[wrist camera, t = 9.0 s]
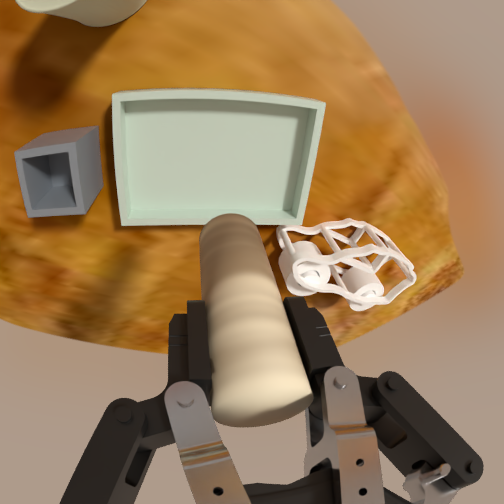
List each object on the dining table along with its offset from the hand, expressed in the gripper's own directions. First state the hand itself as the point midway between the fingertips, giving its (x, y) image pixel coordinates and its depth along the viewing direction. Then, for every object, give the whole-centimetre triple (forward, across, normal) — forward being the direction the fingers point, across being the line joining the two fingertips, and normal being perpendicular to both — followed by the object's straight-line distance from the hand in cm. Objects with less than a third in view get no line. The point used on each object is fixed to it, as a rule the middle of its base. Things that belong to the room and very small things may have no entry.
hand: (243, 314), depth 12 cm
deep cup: (+22, +16, 0) cm, 27 cm away
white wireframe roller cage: (+22, -18, +12) cm, 31 cm away
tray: (+22, 0, 0) cm, 22 cm away
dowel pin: (+6, 0, 0) cm, 6 cm away
